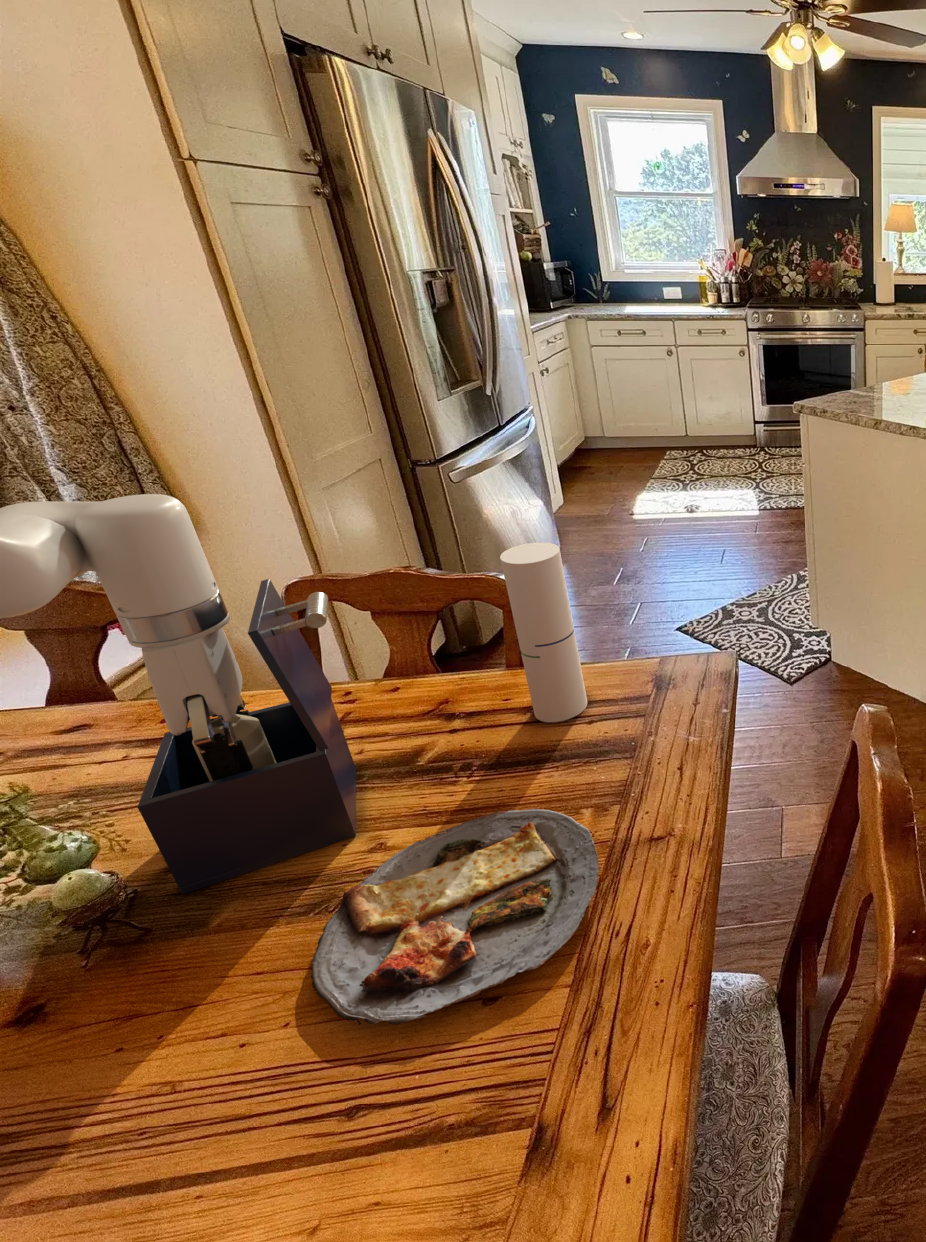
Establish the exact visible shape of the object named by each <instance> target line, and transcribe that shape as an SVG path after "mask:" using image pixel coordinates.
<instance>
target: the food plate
mask: <svg viewBox="0 0 926 1242" xmlns="http://www.w3.org/2000/svg"><path fill="white" fill-rule="evenodd" d="M599 862H600V860H599V855H598V852H597V849H596V845H595V842H594V838H593V836H592V833H591V831H590V829H589V828H588V827H586V825H583V824H582V823H580V822H577V821H576V819H574V818H573V817H572V816H569V815H566V814H564V813H562V812H559V811H556V810H554V811H553V810H551V809H542V808H529V809H521V810H520V809H519V810H508V809H507V810H502V811H496V812H492V813H488V814H485V815H482V816H480V817H476V818H474V819H473V818H472V819H471V820H468V821H464V822H462V823H460V824H457V825H454V826H452V827H449V828H447V829H444V830H442V831H439V832H436V833H434V834H432V836H431V835H430V836H427V837H425V838H423V839H420V840H417V841H415V842H414V843H412V844H410V845H408V846H406V847H405V848H403V849H402V850H399V851H398V852H396V853H395V854H393V855H392V856H391V857H390V858H388V859H387V860H385V861H384V863H383V862H382V863H381V864H380V865H379V866H377V868H376V869H375V870H374V871H372V872H371V873H370V875H368V876H367V877H365V878H364V879H363V880H362V881H361V882H359V884H356V885H353V886H351V887H350V889H348V890H344V891H343V894H342V901H341V904H340V906H339V907H338V909H337V910H336V911H335V913H334V914H333V915H332V916H330V918H329V920H328V921H327V922H326V924H325V925H324V927H323V929H322V934H321V935H320V937H319V938H318V941H317V946H316V950H315V952H314V955H313V958H312V961H311V974H310V978H311V985H312V989H313V990H314V991H315V994H317V996H318V997H319V998H320V999H322V1000H323V1001H324V1002H325V1003H326V1004H327V1005H328V1006H329V1007H330V1008H331V1009H332V1010H333V1011H334V1013H335V1015H336V1017H339V1018H341V1019H343V1018H344V1019H345V1020H347V1021H351V1022H355V1021H356V1022H357V1023H358V1024H357V1025H358V1026H361V1024H363V1023H362V1022H360V1019H362V1020H363V1021H364V1022H367V1023H368V1024H369V1025H376V1024H377V1023H380V1022H382V1021H385V1022H388V1023H387V1024H389V1025H394V1026H395V1025H399V1024H403V1023H409V1022H411V1021H413V1020H417V1019H421V1018H426V1017H427V1015H426V1014H431V1013H435V1012H437V1011H438V1010H441V1009H443V1008H445V1007H449V1006H450V1005H451V1006H452V1005H454V1004H455V1003H459V1002H461V1001H464V1000H467V999H469V998H473V997H474V996H477V995H479V994H480V993H481V992H482V991H484V990H486V989H490V988H492V987H495V986H497V985H499V984H500V985H501V984H503V983H504V982H505V981H507V980H508V979H510V978H512V977H514V976H515V975H517V974H518V973H524V972H526V971H532V970H534V969H538V968H539V967H540V966H542V965H543V964H545V962H546V961H548V960H549V959H551V958H552V956H553V955H555V953H558V951H559V950H560V949H561V948H562V947H563V946H564V945H565V944H566V943H567V942H568V941H569V940H570V939H571V938H572V937H573V935H574V934H575V932H576V931H577V930H578V928H579V927H580V923H581V922H583V921H582V919H584V917H585V912H586V909H587V907H588V906H589V904H590V902H591V900H592V898H593V896H594V894H595V891H596V888H597V886H598V879H599V872H600V868H601V867H600V865H599Z"/></svg>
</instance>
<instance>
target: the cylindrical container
mask: <svg viewBox="0 0 926 1242" xmlns="http://www.w3.org/2000/svg"><path fill="white" fill-rule="evenodd" d="M499 558H500V563H501V568H502V572H503V577H504V581H505V586H506V591H507V596H508V599H509V605H510V609H511V612H512V613H511V614H512V618H513V624H514V627H515V632H516V637H517V641H518V646H519V650H520V656H521V660H522V664H523V669H524V673H525V678H526V682H527V686H528V691H529V696H530V697H529V698H530V700H531V701H530V702H531V705H532V709H533V716H534V717H535V718H536V719H537V720H539V721H540V722H544V723H559V722H565V721H567V720H570V719H572V718H574V717H577V716H578V715H580V714H581V713H582V712H584V711H585V709H586V708H587V706H588V698H587V692H586V687H585V681H584V680H585V679H584V676H583V671H582V670H583V669H582V665H581V659H580V653H579V648H578V642H577V637H576V632H575V627H574V620H573V615H572V609H571V604H570V599H569V592H568V587H567V582H566V576H565V571H564V566H563V559H562V554H561V548H560V546H559V545H557V544H555V543H551V542H543V541H542V542H541V541H540V542H530V543H529V542H528V543H522V544H519V545H516V546H513V547H511V548H507V549H506V550H504V551H503V552H502V553H501V554H500V555H499Z"/></svg>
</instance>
